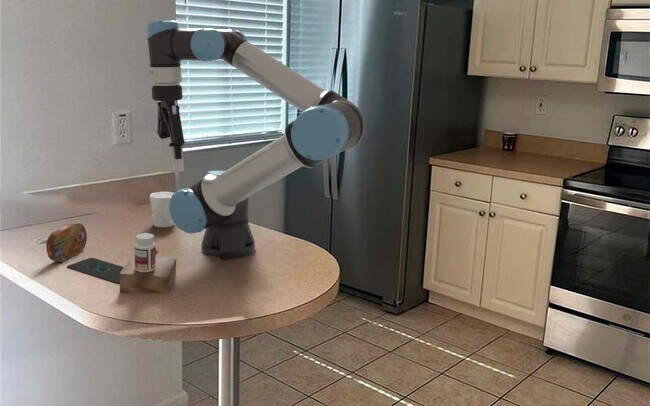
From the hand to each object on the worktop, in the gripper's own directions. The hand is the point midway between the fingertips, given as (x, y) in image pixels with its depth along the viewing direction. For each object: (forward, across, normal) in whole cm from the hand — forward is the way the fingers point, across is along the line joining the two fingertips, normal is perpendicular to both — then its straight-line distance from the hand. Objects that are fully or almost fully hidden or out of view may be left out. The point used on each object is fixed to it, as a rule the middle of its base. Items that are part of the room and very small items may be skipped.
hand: (172, 166), depth 160 cm
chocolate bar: (+27, -4, -8) cm, 28 cm away
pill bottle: (+21, +17, -12) cm, 29 cm away
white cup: (+26, -34, +3) cm, 43 cm away
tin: (+26, -16, -27) cm, 40 cm away
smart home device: (+27, +1, -19) cm, 33 cm away
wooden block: (+26, +14, -11) cm, 31 cm away
